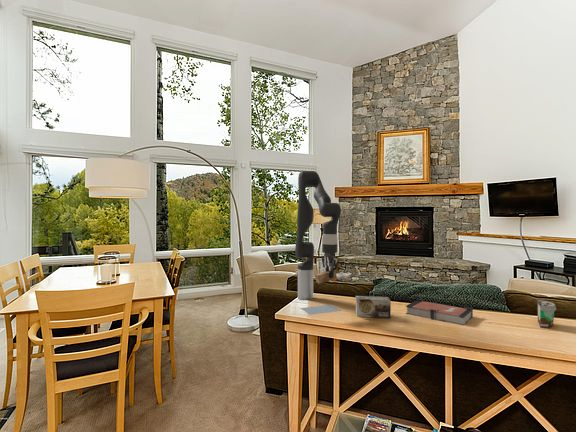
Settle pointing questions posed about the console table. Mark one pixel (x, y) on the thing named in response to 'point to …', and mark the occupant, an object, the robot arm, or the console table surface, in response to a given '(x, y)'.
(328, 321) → the console table surface
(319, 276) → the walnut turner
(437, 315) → the book
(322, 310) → the slate mat
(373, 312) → the coffee box
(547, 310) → the food container
